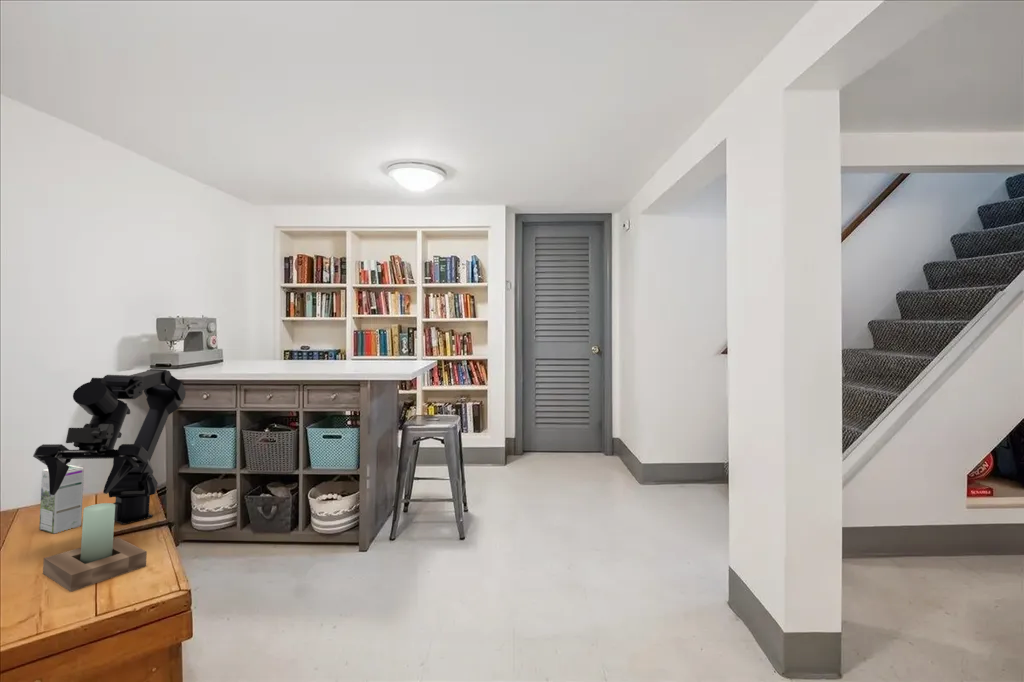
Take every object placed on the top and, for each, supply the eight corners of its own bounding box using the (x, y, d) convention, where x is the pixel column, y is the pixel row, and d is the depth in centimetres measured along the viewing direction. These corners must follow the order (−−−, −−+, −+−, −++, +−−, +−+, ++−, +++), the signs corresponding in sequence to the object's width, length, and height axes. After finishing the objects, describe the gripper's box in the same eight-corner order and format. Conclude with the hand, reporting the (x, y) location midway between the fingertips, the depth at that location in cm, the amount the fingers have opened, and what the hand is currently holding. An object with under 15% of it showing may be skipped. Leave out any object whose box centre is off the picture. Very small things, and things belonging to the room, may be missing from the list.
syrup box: (82, 525, 115) (86, 466, 115) (52, 534, 109) (56, 472, 109) (67, 521, 117) (71, 463, 117) (37, 530, 111) (41, 468, 111)
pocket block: (116, 553, 102) (117, 537, 102) (145, 568, 97) (146, 551, 97) (42, 575, 92) (43, 558, 92) (70, 594, 86) (71, 575, 86)
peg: (104, 561, 98) (108, 501, 98) (116, 568, 95) (120, 506, 95) (74, 571, 93) (78, 508, 93) (86, 577, 91) (90, 513, 91)
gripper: (35, 408, 98) (-1, 483, 90) (140, 410, 103) (115, 480, 95) (62, 430, 107) (31, 499, 99) (158, 430, 112) (136, 496, 104)
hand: (78, 493), depth 99 cm, fingers open, 9 cm apart
